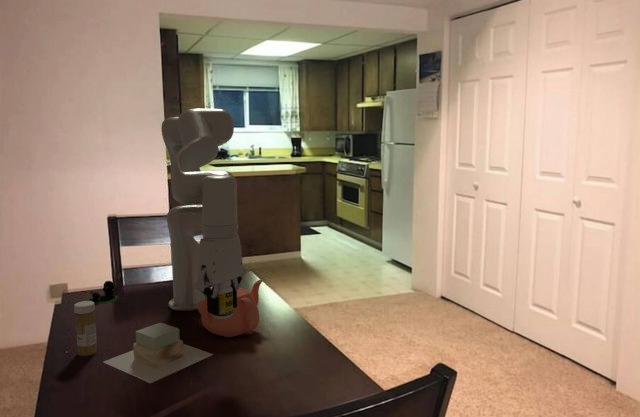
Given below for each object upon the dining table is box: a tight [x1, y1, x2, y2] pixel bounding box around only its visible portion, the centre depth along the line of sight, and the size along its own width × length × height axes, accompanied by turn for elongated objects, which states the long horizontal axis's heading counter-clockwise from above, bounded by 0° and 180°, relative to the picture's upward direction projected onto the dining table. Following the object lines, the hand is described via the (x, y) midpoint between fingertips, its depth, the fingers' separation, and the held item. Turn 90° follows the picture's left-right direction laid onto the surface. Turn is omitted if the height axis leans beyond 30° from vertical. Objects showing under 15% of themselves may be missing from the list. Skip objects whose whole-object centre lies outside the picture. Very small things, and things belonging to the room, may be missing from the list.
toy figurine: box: [87, 280, 118, 305], centre depth 172 cm, size 10×10×6 cm
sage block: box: [135, 322, 181, 350], centre depth 124 cm, size 7×7×3 cm
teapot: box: [197, 278, 264, 338], centre depth 142 cm, size 16×17×14 cm
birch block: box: [132, 339, 184, 369], centre depth 125 cm, size 8×8×4 cm
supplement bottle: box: [212, 280, 233, 319], centre depth 118 cm, size 5×5×8 cm
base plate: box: [102, 343, 214, 384], centre depth 125 cm, size 18×18×1 cm
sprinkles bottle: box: [73, 300, 98, 357], centre depth 127 cm, size 5×5×13 cm
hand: (222, 309), depth 119 cm, fingers closed on supplement bottle, 4 cm apart
